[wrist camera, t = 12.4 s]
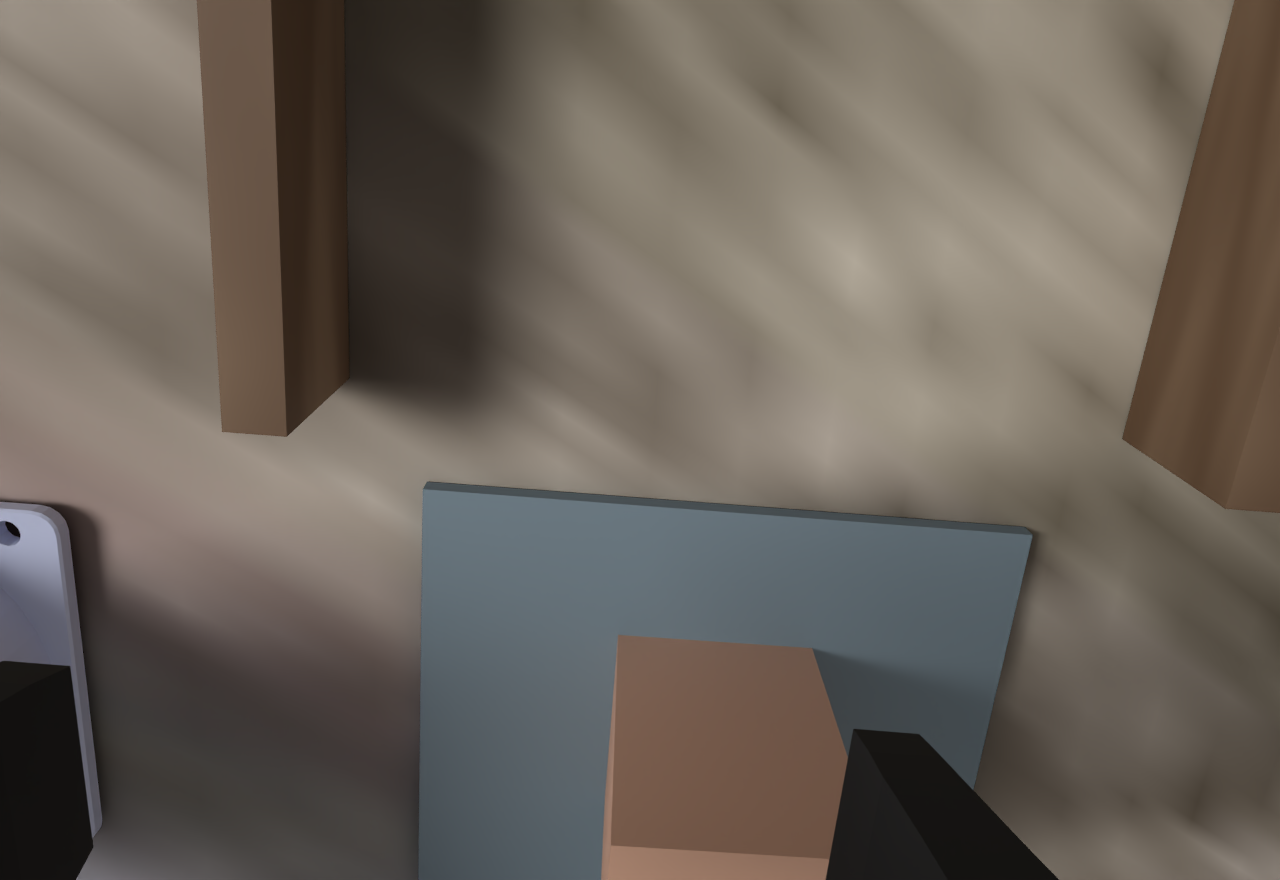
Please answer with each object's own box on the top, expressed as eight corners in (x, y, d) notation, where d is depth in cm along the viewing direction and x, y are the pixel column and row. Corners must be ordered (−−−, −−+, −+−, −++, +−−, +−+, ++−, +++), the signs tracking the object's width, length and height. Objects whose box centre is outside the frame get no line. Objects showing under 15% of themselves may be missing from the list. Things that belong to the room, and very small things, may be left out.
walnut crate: (296, 374, 18) (222, 431, 15) (271, -396, 15) (165, -544, 11) (1171, 442, 19) (1286, 513, 16) (1371, -283, 15) (1578, -394, 12)
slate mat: (421, 884, 22) (417, 898, 22) (426, 481, 19) (422, 489, 19) (935, 917, 23) (940, 930, 22) (1025, 526, 20) (1032, 535, 19)
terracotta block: (605, 796, 21) (593, 1048, 15) (618, 634, 20) (611, 844, 14) (787, 807, 21) (842, 1062, 16) (812, 648, 20) (881, 861, 14)
